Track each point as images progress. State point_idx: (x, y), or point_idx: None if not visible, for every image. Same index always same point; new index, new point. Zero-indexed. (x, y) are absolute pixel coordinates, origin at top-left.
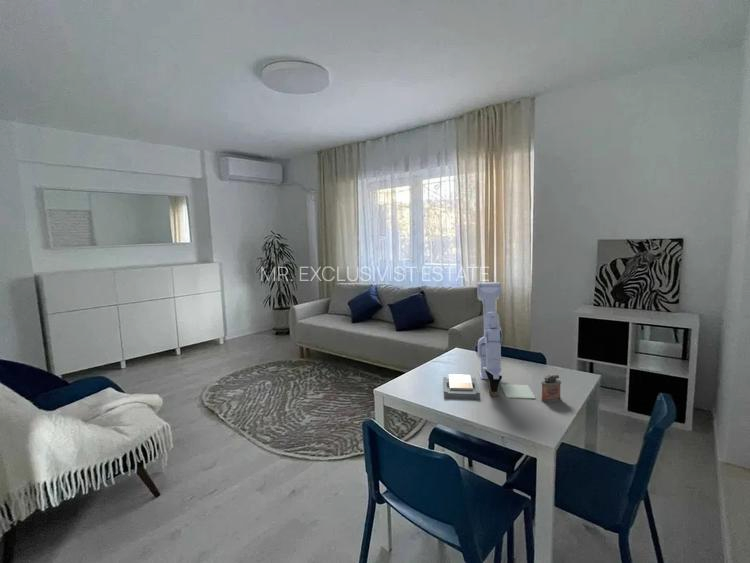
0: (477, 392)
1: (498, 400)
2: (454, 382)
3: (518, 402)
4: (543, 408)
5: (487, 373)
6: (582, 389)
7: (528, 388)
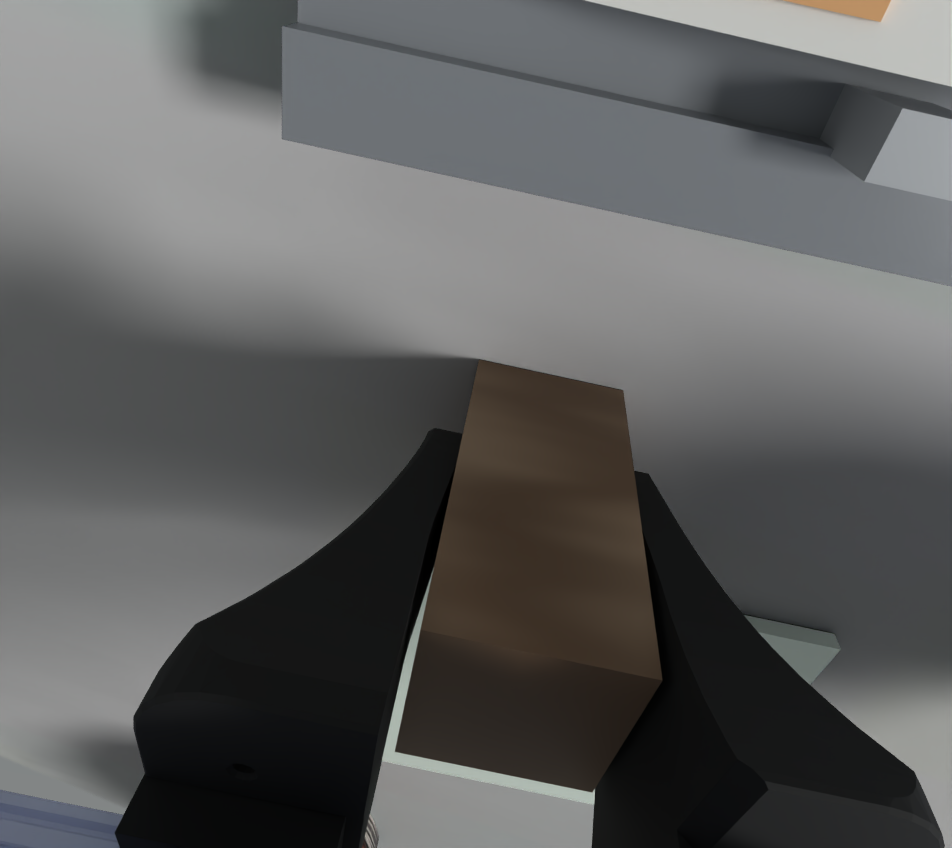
0: (286, 71)
1: (287, 414)
2: None
3: (245, 595)
4: (134, 703)
5: (704, 748)
6: None
7: (592, 797)
